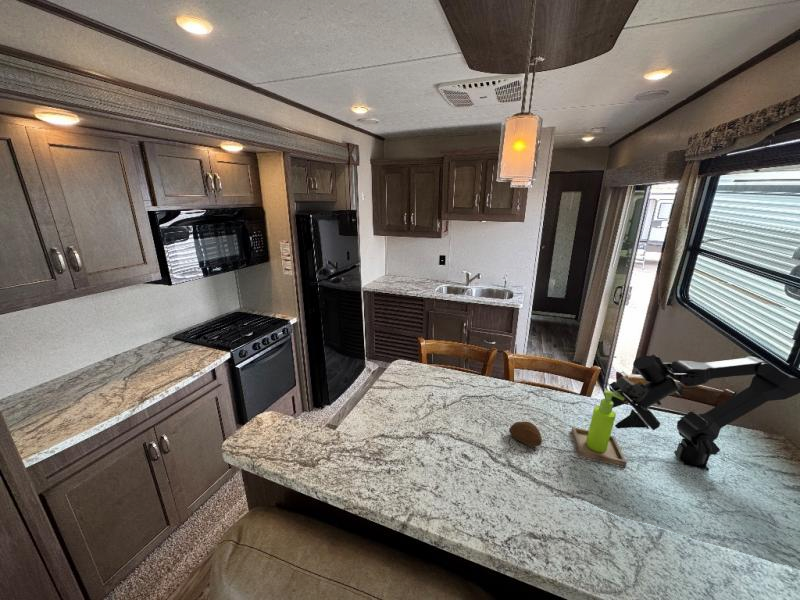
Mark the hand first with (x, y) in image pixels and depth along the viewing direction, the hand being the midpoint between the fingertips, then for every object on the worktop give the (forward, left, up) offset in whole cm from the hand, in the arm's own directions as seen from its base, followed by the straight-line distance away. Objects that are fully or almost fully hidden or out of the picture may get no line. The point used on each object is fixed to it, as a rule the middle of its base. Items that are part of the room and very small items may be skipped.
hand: (608, 417), depth 100 cm
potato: (+24, +6, -12) cm, 27 cm away
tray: (+1, 0, -12) cm, 12 cm away
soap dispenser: (+1, +1, -11) cm, 11 cm away
